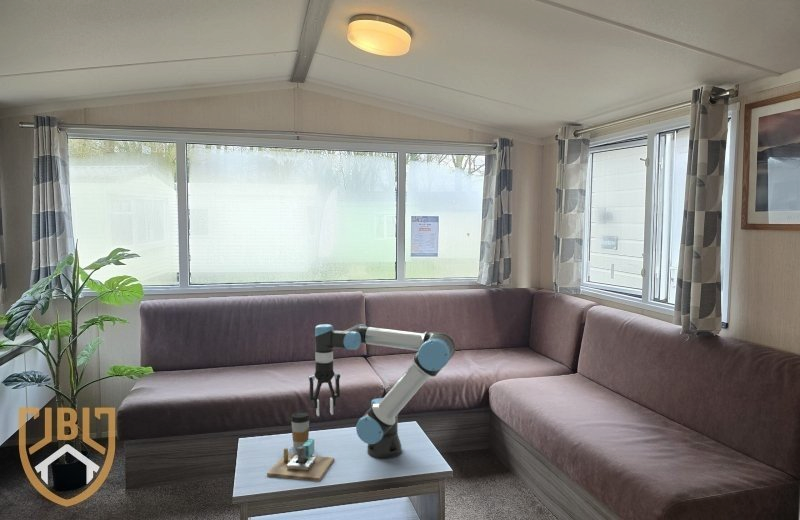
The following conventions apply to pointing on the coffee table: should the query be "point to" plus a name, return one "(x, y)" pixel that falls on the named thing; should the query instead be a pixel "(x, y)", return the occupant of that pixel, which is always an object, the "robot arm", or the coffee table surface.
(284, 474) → the post base
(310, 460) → the flange
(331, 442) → the coffee table surface
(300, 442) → the coffee cup
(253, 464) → the coffee table surface
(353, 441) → the coffee table surface
